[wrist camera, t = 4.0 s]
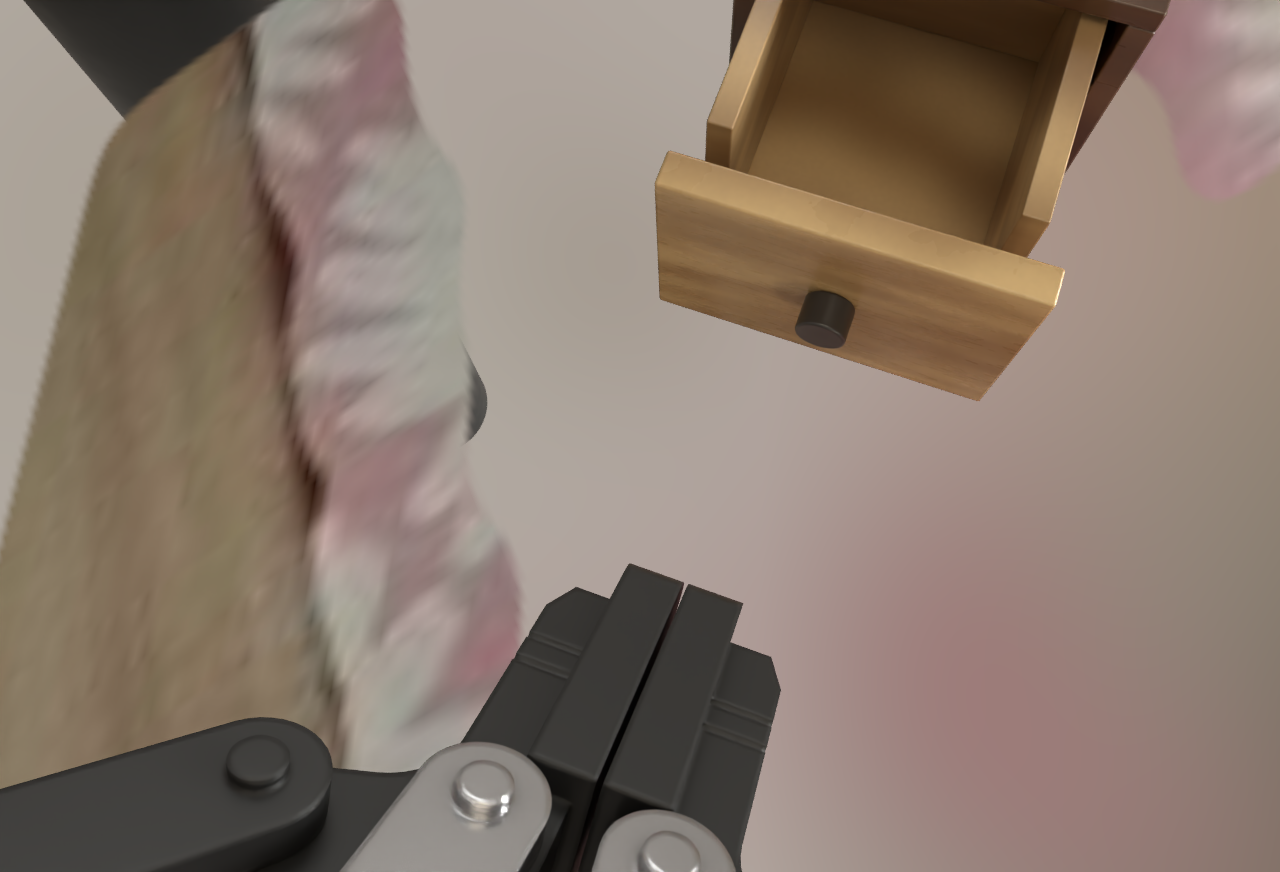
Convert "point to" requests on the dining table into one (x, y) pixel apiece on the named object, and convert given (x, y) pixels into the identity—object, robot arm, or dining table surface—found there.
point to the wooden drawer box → (1133, 18)
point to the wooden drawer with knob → (883, 181)
